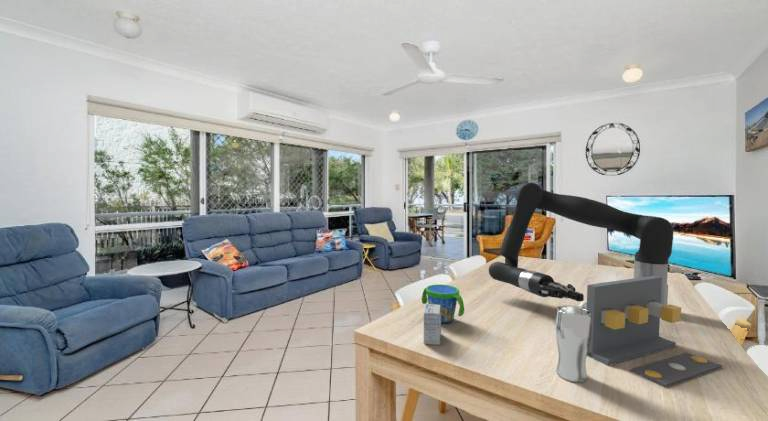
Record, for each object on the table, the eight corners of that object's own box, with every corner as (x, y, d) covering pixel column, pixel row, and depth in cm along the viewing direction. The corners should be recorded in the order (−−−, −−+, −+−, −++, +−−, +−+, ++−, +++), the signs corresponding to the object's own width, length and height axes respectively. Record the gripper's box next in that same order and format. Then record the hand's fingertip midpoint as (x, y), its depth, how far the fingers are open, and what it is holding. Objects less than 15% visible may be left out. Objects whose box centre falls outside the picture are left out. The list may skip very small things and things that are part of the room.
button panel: (635, 332, 99) (638, 272, 98) (675, 346, 90) (679, 280, 89) (570, 347, 89) (573, 280, 88) (608, 365, 80) (611, 291, 79)
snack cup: (471, 324, 104) (472, 291, 104) (448, 331, 98) (448, 297, 98) (436, 309, 117) (437, 280, 116) (413, 315, 111) (414, 285, 110)
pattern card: (686, 354, 85) (686, 351, 85) (721, 367, 79) (722, 364, 79) (630, 371, 77) (630, 367, 77) (665, 387, 71) (665, 383, 71)
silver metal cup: (547, 367, 78) (549, 305, 78) (575, 366, 79) (578, 304, 78) (566, 384, 71) (569, 316, 71) (597, 383, 72) (599, 315, 71)
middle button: (610, 310, 94) (610, 296, 94) (648, 323, 85) (649, 307, 85) (600, 312, 93) (601, 298, 93) (638, 325, 84) (639, 309, 84)
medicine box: (439, 346, 89) (440, 314, 89) (423, 344, 90) (423, 312, 90) (440, 333, 97) (441, 304, 96) (425, 332, 98) (425, 303, 97)
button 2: (640, 309, 95) (640, 295, 95) (680, 321, 86) (681, 306, 86) (631, 311, 94) (631, 297, 94) (671, 323, 85) (672, 308, 85)
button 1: (588, 314, 91) (588, 300, 91) (625, 328, 82) (626, 312, 82) (577, 316, 89) (578, 301, 89) (614, 330, 80) (615, 314, 80)
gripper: (521, 273, 112) (566, 287, 96) (550, 270, 117) (598, 283, 101) (520, 295, 113) (565, 313, 97) (549, 291, 118) (596, 307, 101)
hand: (581, 298), depth 99 cm, fingers closed
